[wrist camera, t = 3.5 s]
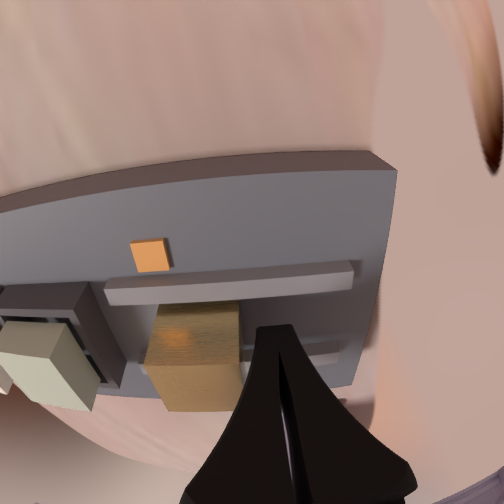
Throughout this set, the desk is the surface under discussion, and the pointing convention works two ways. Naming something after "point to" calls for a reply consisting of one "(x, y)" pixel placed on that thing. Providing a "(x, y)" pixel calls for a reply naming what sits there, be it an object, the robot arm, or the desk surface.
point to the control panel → (203, 254)
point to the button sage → (48, 364)
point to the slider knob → (197, 356)
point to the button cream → (5, 381)
